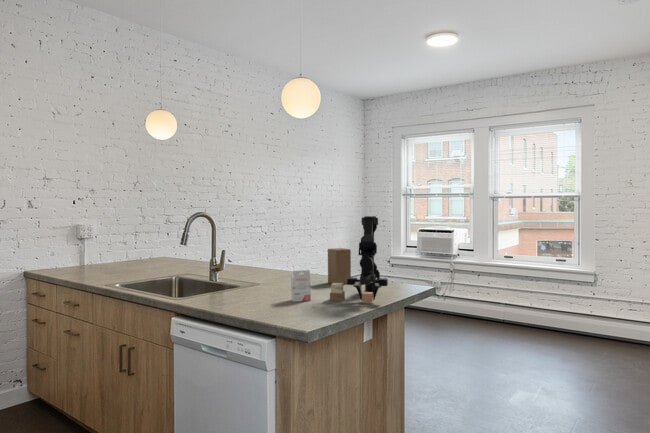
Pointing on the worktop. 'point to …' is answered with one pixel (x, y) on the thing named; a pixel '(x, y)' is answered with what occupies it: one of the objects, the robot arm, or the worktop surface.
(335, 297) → the tower base
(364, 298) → the terracotta block
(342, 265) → the wooden block
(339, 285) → the tower middle
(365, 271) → the robot arm
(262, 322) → the worktop surface
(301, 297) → the ink cartridge box
